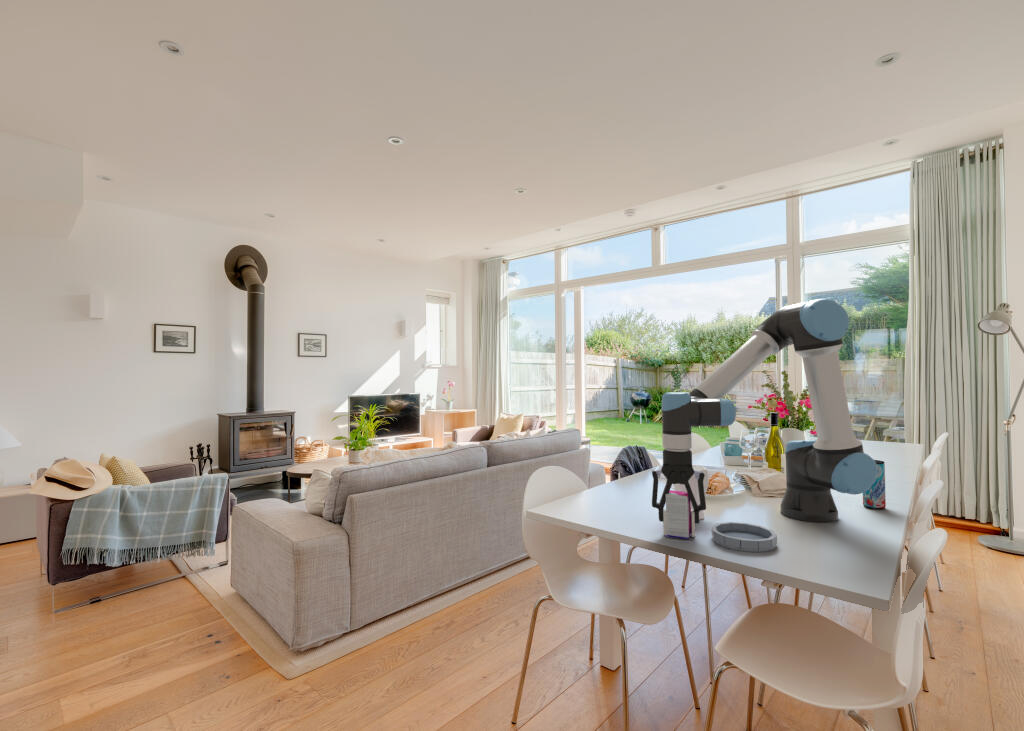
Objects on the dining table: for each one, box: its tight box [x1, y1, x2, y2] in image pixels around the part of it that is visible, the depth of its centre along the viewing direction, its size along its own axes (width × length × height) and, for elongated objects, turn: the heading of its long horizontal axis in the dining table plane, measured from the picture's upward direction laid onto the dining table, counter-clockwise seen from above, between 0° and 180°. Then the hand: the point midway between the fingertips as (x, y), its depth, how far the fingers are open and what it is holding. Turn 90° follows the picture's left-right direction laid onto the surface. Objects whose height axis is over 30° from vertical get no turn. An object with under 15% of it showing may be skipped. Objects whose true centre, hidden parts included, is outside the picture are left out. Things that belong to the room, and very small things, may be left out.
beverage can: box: [862, 459, 887, 511], centre depth 158 cm, size 6×6×15 cm
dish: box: [711, 521, 778, 553], centre depth 127 cm, size 15×15×3 cm
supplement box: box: [665, 489, 691, 540], centre depth 132 cm, size 6×6×12 cm
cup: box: [672, 464, 710, 520], centre depth 150 cm, size 11×11×15 cm
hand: (679, 534), depth 132 cm, fingers closed on supplement box, 6 cm apart
